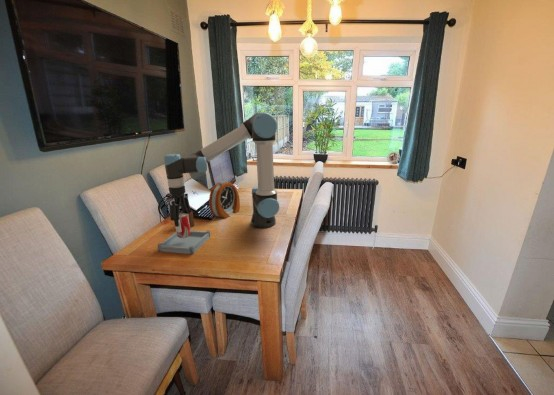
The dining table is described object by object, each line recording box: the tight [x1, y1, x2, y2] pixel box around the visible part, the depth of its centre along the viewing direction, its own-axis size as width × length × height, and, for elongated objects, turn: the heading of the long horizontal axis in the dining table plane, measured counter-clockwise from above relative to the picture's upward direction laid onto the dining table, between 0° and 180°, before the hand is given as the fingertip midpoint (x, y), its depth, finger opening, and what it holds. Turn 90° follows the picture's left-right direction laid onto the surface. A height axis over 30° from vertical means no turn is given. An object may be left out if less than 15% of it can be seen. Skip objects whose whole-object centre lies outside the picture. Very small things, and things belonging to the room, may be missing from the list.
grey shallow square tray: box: [157, 230, 211, 255], centre depth 139 cm, size 19×19×4 cm
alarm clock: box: [208, 180, 241, 219], centre depth 175 cm, size 22×10×23 cm, turn 150°
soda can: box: [175, 212, 192, 238], centre depth 136 cm, size 7×7×12 cm
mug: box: [179, 209, 195, 229], centre depth 158 cm, size 12×8×9 cm, turn 142°
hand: (183, 228), depth 137 cm, fingers closed on soda can, 7 cm apart
